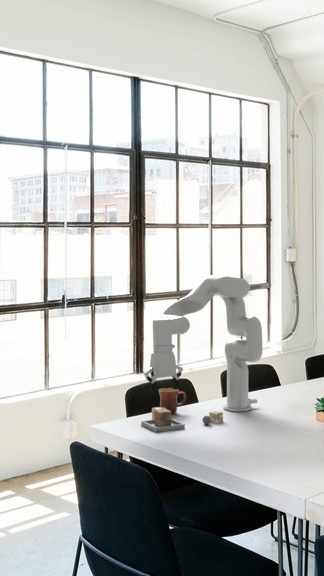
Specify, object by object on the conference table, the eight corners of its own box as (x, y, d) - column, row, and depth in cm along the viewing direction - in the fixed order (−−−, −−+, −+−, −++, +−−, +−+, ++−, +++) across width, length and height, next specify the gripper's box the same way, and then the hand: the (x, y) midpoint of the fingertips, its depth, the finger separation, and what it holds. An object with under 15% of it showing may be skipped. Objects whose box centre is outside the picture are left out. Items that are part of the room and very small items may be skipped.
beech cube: (216, 420, 302) (216, 410, 301) (223, 421, 299) (223, 412, 299) (209, 421, 299) (209, 412, 299) (216, 423, 296) (216, 413, 296)
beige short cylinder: (162, 418, 305) (162, 406, 305) (168, 421, 300) (168, 409, 300) (149, 419, 303) (149, 408, 302) (156, 422, 297) (156, 410, 297)
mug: (157, 415, 311) (157, 391, 310) (159, 410, 319) (159, 387, 319) (185, 415, 309) (185, 392, 309) (186, 411, 318) (186, 388, 318)
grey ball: (208, 423, 296) (208, 414, 296) (212, 424, 293) (212, 416, 293) (200, 423, 295) (200, 415, 294) (205, 425, 291) (205, 417, 291)
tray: (169, 421, 298) (169, 417, 298) (184, 428, 287) (184, 424, 287) (141, 425, 292) (141, 420, 292) (155, 432, 281) (155, 427, 281)
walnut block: (165, 423, 293) (165, 408, 293) (171, 426, 289) (171, 411, 288) (154, 424, 291) (154, 410, 291) (160, 427, 286) (160, 412, 286)
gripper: (177, 345, 295) (178, 386, 297) (139, 349, 288) (140, 391, 289) (186, 347, 289) (187, 389, 290) (147, 352, 281) (149, 395, 282)
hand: (164, 390), depth 290 cm, fingers open, 9 cm apart
